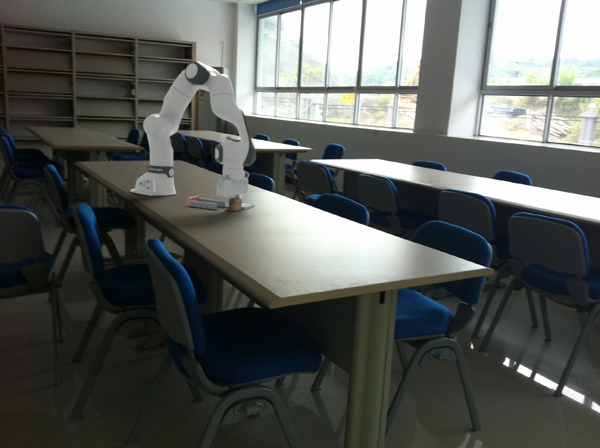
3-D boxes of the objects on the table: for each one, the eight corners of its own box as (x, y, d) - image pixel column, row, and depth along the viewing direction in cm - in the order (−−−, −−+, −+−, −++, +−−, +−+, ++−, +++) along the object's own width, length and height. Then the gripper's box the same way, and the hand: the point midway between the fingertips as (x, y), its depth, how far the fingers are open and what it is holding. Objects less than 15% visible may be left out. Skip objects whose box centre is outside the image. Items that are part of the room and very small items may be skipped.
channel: (187, 205, 232) (187, 198, 231) (197, 203, 240) (198, 195, 239) (216, 209, 227) (216, 201, 226) (226, 207, 234) (226, 199, 234)
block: (225, 209, 227) (226, 198, 226) (231, 208, 232) (231, 197, 230) (235, 211, 225) (236, 200, 224) (241, 209, 230) (241, 198, 229)
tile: (227, 207, 234) (227, 204, 234) (237, 204, 243) (237, 202, 242) (245, 209, 231) (245, 207, 231) (254, 206, 240) (254, 204, 239)
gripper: (225, 177, 215) (224, 209, 218) (250, 173, 233) (249, 203, 236) (213, 175, 217) (212, 207, 220) (238, 171, 236) (237, 201, 239)
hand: (231, 205), depth 228 cm, fingers closed on block, 5 cm apart
